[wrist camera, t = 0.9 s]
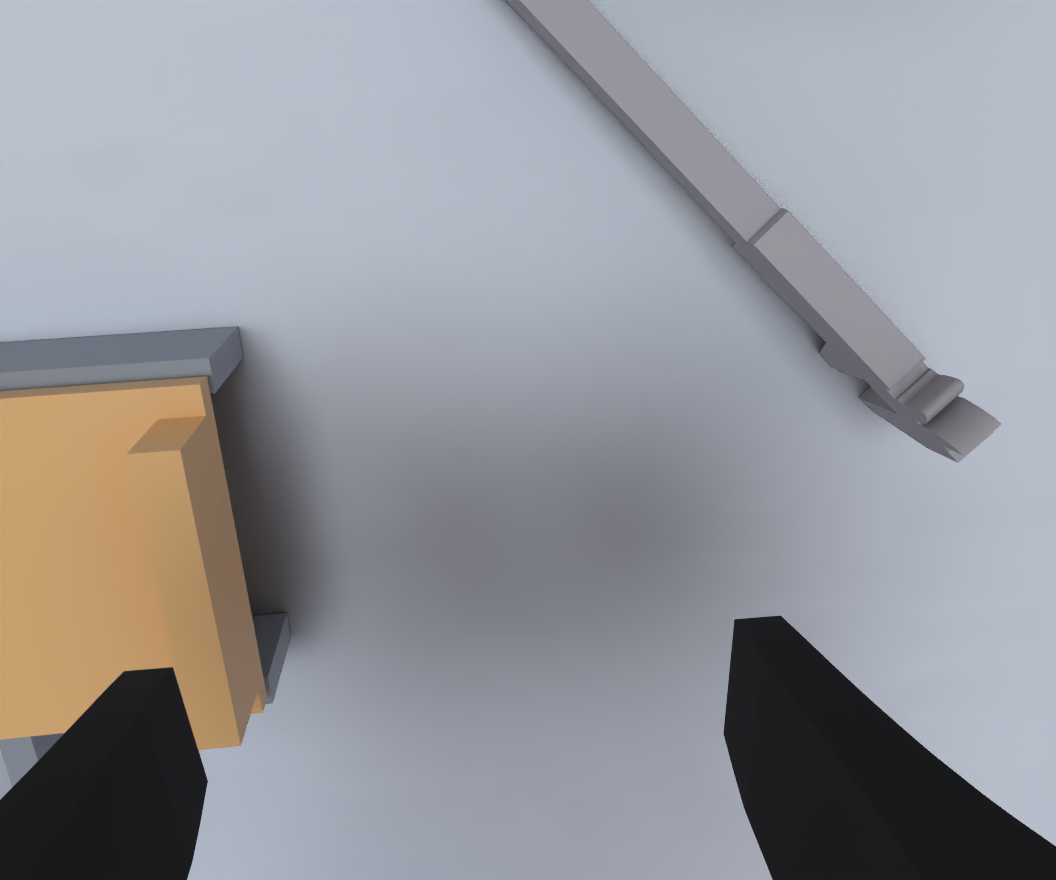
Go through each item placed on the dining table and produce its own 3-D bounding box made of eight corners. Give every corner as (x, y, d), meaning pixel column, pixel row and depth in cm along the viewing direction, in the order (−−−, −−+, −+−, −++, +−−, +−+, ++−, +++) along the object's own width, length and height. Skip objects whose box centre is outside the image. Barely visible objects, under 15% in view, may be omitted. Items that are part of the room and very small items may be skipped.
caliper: (892, 379, 24) (1040, 463, 18) (863, 406, 24) (999, 498, 18) (323, -271, 18) (268, -464, 12) (289, -226, 18) (218, -396, 12)
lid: (266, 697, 21) (246, 770, 19) (-132, 737, 21) (-207, 819, 18) (206, 376, 18) (172, 415, 16) (-263, 410, 18) (-373, 456, 15)
